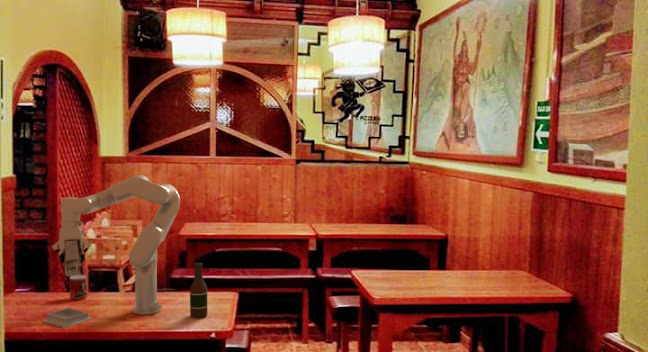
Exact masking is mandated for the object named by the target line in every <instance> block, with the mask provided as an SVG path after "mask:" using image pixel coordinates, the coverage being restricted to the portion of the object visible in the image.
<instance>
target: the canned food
mask: <svg viewBox="0 0 648 352" xmlns="http://www.w3.org/2000/svg"><path fill="white" fill-rule="evenodd" d="M87 283H88V282H87V275H85V274H81V275H76V276H69V299H70V300H71V301H75V302H76V301H79V302H80V301H83V300H86V299H87V297H88V296H87V295H88V293H87V291H88V290H87V285H88V284H87Z"/></svg>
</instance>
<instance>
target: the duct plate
mask: <svg viewBox="0 0 648 352" xmlns="http://www.w3.org/2000/svg"><path fill="white" fill-rule="evenodd" d="M92 319H93V317H92V316H89V312H87V311H84V310H80V309H76V308H71V307H66V308H62V309H59V310H56V311H52V312H48V313H46V319H43V320H42V323H45V324H47V325H52V326H55V327H59V328H62V329H63V328H66V327H67V328H68V327H71V326H74V325H77V324H80V323H83V322H86V321H89V320H92Z"/></svg>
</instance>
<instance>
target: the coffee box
mask: <svg viewBox="0 0 648 352" xmlns="http://www.w3.org/2000/svg"><path fill="white" fill-rule="evenodd" d="M64 245H65V250H64V252H63V254H64V263H63V264H64V275H65V276H66V277H71V276H76V275H82V263H81V252H80V240H65V241H64Z"/></svg>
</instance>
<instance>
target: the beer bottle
mask: <svg viewBox="0 0 648 352" xmlns="http://www.w3.org/2000/svg"><path fill="white" fill-rule="evenodd" d="M193 265H194V276H193V277H194V278H193V282H192V284H191V286H190V289H189V309H190V310H189V311H190V312H189V314H190V318H192V319H204V318H207V316H208V286H207V284H206V282H205V281H204V276H203V275H204V274H203V263H202V262H195V263H194V264H193Z"/></svg>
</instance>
